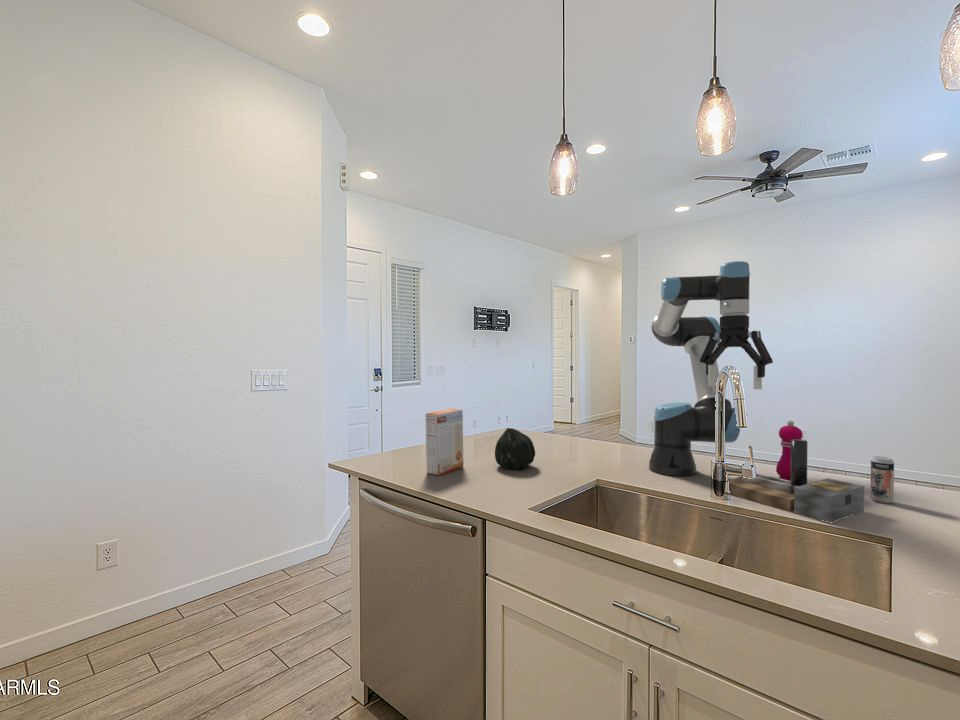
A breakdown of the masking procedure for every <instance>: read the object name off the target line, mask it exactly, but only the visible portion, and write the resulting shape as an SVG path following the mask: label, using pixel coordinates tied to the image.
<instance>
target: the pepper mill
mask: <svg viewBox="0 0 960 720" xmlns="http://www.w3.org/2000/svg"><path fill="white" fill-rule="evenodd" d="M786 424H787V425H783V426H782V427H780V428H779V430H778V437H779V438H780V439H781V440H780V445H781V449H782V450H781V452H782V453H781V456H780V458H779V460H778V462H777V464H776V466H775V467H776V468H775V472H776V474H778V476H779V477H778V478H780V479H784V480H788V481H791V439H800V440H803V435H804V434H803V432H802V430H801V429H800V428H799V427H798V426H796V425H795V422H794V421H793V420H788V421H787V422H786Z"/></svg>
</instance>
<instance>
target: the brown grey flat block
mask: <svg viewBox="0 0 960 720" xmlns="http://www.w3.org/2000/svg"><path fill="white" fill-rule="evenodd" d="M755 473H756V477H755V478H754V479H748V478H743V477H737V478H734V479H730V481H729V480H728V481H729V491H730V493H731V494H730V495H731V496H735V497H738V498H742V499H745V500H749V501H752V502H755V503H759V504H763V505H766V506H769V505H770V507H772V506H773V508H777V509H779V508H780V509H779V510H782V511H786V510H787V511H786V512H789V511H790V512H793V513H794V512H795V513H794V514H796V513H798V514H797V515H800V514H802V515H801V516H803V515H805V516H804V517H807V516H808V517H807V518H810V517H812V518H811V519H814V518H816V519H815V520H817V519H820V520H819V521H821V520H824V521H828V522H833V521H836V520H838V519H841V518H844V517H847V516H850V515H852V514H855V513H857V514H859V513H858V512H860V513H862V512H861V511H863V512H864V509H865V486H864V485H862V484H861V485H860V484H856V483H851V482H848V481H843V480H837V479H832V478H828V477H827V478H823V479H820V480H817V481H813V482H810V483H807V484H805V485H802V486H798V487H795V488H794V492H793V491H792V485H789V484H785V483H784V482H788V480H784V479H780V478H779V477H775V476H771V475H766V474H762V473H757V472H755ZM790 482H791V481H790ZM792 510H793V511H792ZM855 515H856V514H855ZM852 516H853V515H852ZM850 517H851V516H850ZM847 518H848V517H847ZM844 519H845V518H844ZM824 521H823V522H824ZM836 522H837V521H836Z"/></svg>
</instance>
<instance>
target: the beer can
mask: <svg viewBox="0 0 960 720" xmlns="http://www.w3.org/2000/svg"><path fill="white" fill-rule="evenodd" d="M894 482H895V462H894V460H893V459H892V458H891V457H888V456H887V457H886V456H879V455H878V456H877V455H874V456H872V457H871V459H870V493H869V494H870V496H869V498H870V499H871V500H872V501H874V502H875V503H880V504H887V505H888V504H892V503H894V502H895V501H894V495H895V493H894V492H895V491H894V490H895V489H894V488H895V483H894Z"/></svg>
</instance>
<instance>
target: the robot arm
mask: <svg viewBox="0 0 960 720" xmlns="http://www.w3.org/2000/svg"><path fill="white" fill-rule="evenodd" d="M718 274H719V275H701V276H699V275H698V276H672V277H666V278H665V277H664V278H663V279H662V281H661V286H660V298H661V299H662V300H663V301H662V303H661V307H660V309H659V311H658V314H657V315H656V316H655V317H654V319H653V320H652V323H651V332H652V335H653V337H654V338H656V340H657V341H658V342H660V343H662V344H664V345H665V346H670V347H683V348H684V351H685V353H687V354H688V355H689V358H690V359H689V360H690V363H691V370H692V375H693V381H694V385H695V393H696V398H697V401H696V402H695V403H694V407H693V406H692V405H691V403H689V402H671V403H665V404H664V403H663V404H660V405H658V406H656V407H655V409H654V418H653V421H654V438H653V440H654V443H653V445H654V447H653V450H652V453H651V455H650V459H649V461H648V469H649V470H650V471H651V472H653V473H657V474H662V475H666V476H675V477H686V476H687V477H689V476H693V475H696V474H697V464H696V463H695V458H694V455H693V451H692V449H691V448H692V446H691V445H692V442H700V443H701V442H703V443H704V442H705V443H716V442H715V410H716V407H715V403H716V401H715V395H716V382H717V378H718V376H719V374H720V370H719V366H718V361H717V360H718V359H719V358H720V356H721V355H722V354H723V353H724V352H725V350H726V349H728V348H741V349H743V351H745V353H746V354H747V355H748V357H750V359H751V360H752V361H753V362H754V364H755V365H753V390H763V378H765V376H766V366H767V365H770V364H773V363H774V362H773V361H774V360H773V357H772V356H771V354H770V352H769V351H768V349H767V347H766V344H765V343H764V342H763V339H762V335H761V331H760V330H752V331H749V328H750V316H749V315H748V314H750V276H751V272H750V264H749V262H747V261H742V260H739V261H736V260H735V261H728V262H724V263H722V264H721V265H720V266H719V273H718ZM705 300H706V301H707V300H713V301H718V302H719V315H721V316H720V317H719V321H718V320H717V318H715V317H713V316H703V315H702V316H693V317H692V316H690V317H689V316H686V317H684V316H682V315H683V313H684V311H685V309H686V307H687V305H688V303H689V301H705ZM749 338H750V340H751V341H752V342H753V344H754V347H755V349H754V347H753V346H752V344H751V343H750V342H749V340H748V339H749ZM756 350H757V351H756ZM732 406H733V405H732V403H731V400H729V399H727V398H726V397H725V443H729V444H730V443H734V442H736V441H737V440H738V438H739V437H740V432H741V428H740V429H739V428H737V426H736V424H737V421H736V414H735V408H736V407H732Z"/></svg>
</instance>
